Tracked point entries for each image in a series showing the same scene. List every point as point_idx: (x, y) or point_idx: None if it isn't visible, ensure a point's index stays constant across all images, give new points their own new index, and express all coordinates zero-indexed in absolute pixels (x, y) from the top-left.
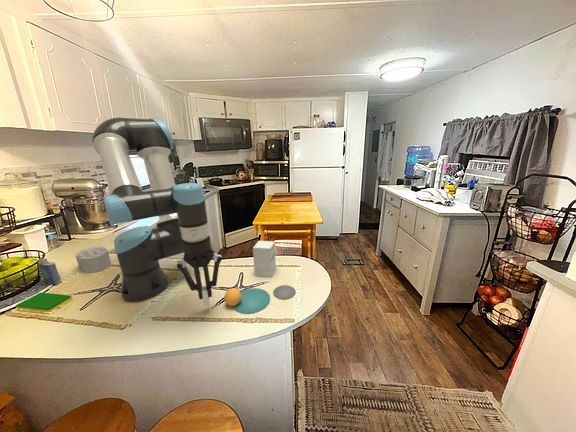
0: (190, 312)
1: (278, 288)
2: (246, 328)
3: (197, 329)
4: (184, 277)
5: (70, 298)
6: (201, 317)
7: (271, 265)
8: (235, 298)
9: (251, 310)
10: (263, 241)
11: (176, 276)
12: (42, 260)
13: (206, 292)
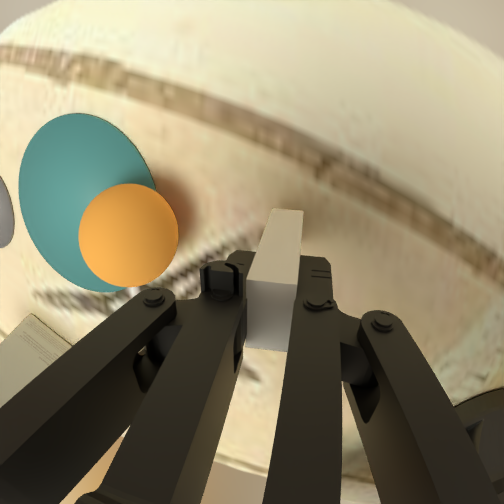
0: (380, 250)
1: (2, 235)
2: (111, 23)
3: (354, 92)
4: (483, 466)
5: None
6: (329, 180)
7: (1, 344)
8: (102, 196)
9: (75, 131)
10: None
11: None
12: None
13: (257, 267)
